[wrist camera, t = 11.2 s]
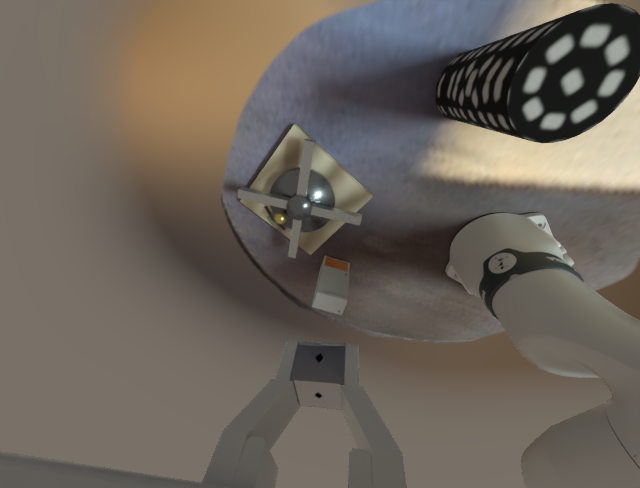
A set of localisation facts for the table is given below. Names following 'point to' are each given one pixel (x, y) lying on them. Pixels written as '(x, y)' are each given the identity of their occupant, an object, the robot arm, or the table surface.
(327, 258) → the skincare box
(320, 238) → the beige base plate
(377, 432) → the robot arm
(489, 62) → the spotted tube
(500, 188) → the table surface
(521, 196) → the table surface
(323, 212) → the capstan
